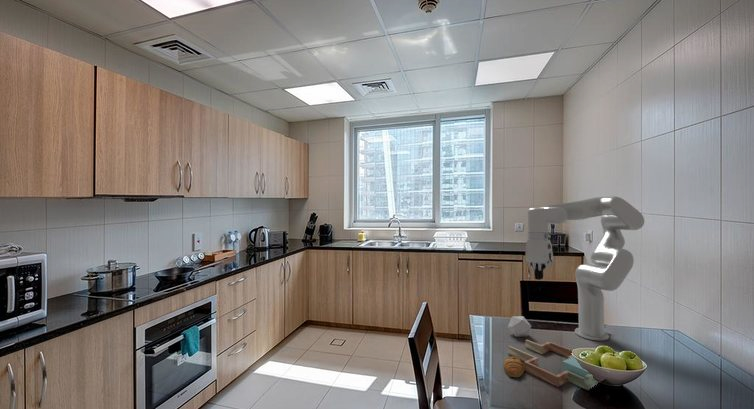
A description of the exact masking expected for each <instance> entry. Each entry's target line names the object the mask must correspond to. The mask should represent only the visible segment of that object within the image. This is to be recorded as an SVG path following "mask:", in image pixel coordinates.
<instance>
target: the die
mask: <svg viewBox="0 0 754 409" xmlns="http://www.w3.org/2000/svg"><path fill="white" fill-rule="evenodd" d="M507 327H508V329H509V331H510V332H511V333H512V335H514V337H518V338H519V337H520V338H521V337H525V338H526V337H528V335H529V333H530V330H531V328H532V325H531V323H530V322H529V321H528V320H527V319H526V318H525V316H522V315H521V316H518V315H517V316H514V315H513V316H511V318H510V321H509V322H508V325H507Z"/></svg>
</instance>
